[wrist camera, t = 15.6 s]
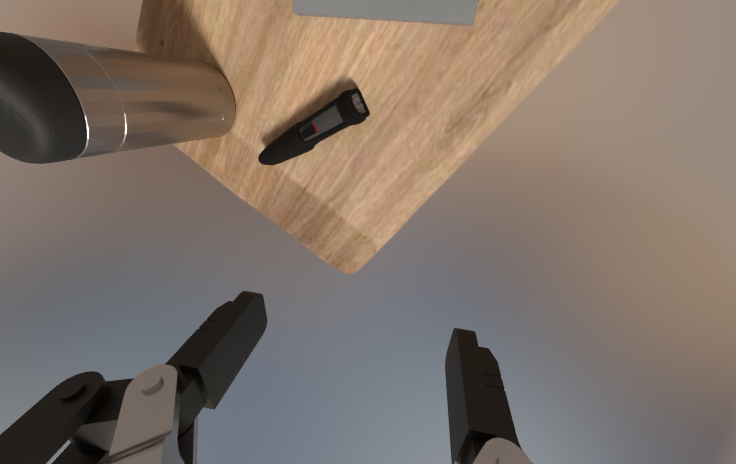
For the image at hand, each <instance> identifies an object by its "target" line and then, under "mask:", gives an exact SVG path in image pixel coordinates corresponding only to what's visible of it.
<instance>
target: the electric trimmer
mask: <svg viewBox="0 0 736 464" xmlns="http://www.w3.org/2000/svg"><path fill="white" fill-rule="evenodd" d="M369 114H370V112H369V110H368V108H367V105H366V103H365V101H364V99H363V97H362V94H361V92H360V90H359V89H357V88H356V89H353V90H348V91H345V92H343V93H342V94H341V95H339V96H338V97H337V98H336V99H334V100H333V101H331V102H330V103H329V104H327V105H326V106H324V107H323V108H322V109H320V110H319V111H317V112H316V113H314V114H313V115H312V116H310V117H309V118H307V119H305V120H304V121H302V122H298V123H297V124H295V125H294V126H293V127H291V128H290V129H289V130H287V131H286V132H285V133H283V134H282V135H281V136H280V137H278V138H277V139H276V140H274V141H273V142H272V143H271V144H269V145H268V146H267V147H266V148H265V149H264V150H263V151H262V152H261V153H260V155H259V157H258V159H259V162H260V163H262V164H264V165H276V164H279V163H281V162H284V161H286V160H289V159H291V158H294V157H296V156H298V155H301V154H303V153H306V152H308V151H310V150H312V149H313V148H314V146H315V145H316V144H317V143H319V142H320V141H322V140H324V139H326V138H327V137H329V136H331V135H333V134H335V133H337V132H338V131H340V130H342V129H344V128H346V127H348V126H351V125H356V124H360V123H361V122H363V121H364V120H365V119H366V117H368V116H369Z"/></svg>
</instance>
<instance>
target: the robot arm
mask: <svg viewBox="0 0 736 464" xmlns="http://www.w3.org/2000/svg"><path fill="white" fill-rule="evenodd" d="M235 113H236V112H235V101H234V96H233V94H232V91H231V88H230V86H229V84H228V83H227V81H226V79H225V78H224V77H223V75H222V74H221V73H220V72H219V71H218V70H217V69H216V68H214V67H213V66H211V65H210V64H207V63H204V62H200V61H193V60H186V59H180V58H174V57H168V56H161V55H154V54H148V53H141V52H134V51H127V50H120V49H114V48H108V47H101V46H94V45H88V44H80V43H74V42H68V41H60V40H53V39H46V38H39V37H33V36H26V35H19V34H13V33H5V32H0V151H1V152H2V153H4V154H6V155H8V156H10V157H12V158H14V159H17V160H19V161H23V162H27V163H37V164H38V163H39V164H43V163H52V162H59V161H65V160H72V159H78V158H84V157H91V156H97V155H104V154H109V153H115V152H122V151H128V150H135V149H142V148H148V147H155V146H161V145H167V144H174V143H180V142H187V141H193V140H200V139H207V138H213V137H220V136H222V135H225V134H226V133H227V132H228V131H229V130H230V129H231V127H232V125H233V123H234V120H235ZM266 325H267V316H266V310H265V304H264V298H263V295H262V294H260V293H254V292H248V291H243V292H241V293H240V294H239V295H238V297H237V298H236V299H235V300H234V301H233V302H232V301H228V302H226V303H225V304H223V305H222V306H220V307H218V308H217V309H216V310H215V311H214V312H213V313H212V314H211V315H210V317H208V319H207V321H205V322H204V323H203V324H202V325H201V326H200V328H199V329H197V330H196V331H195V333H194V334H193V335H192V336H191V337H190V338H189V339H188V340H187V341H186V342H185V343H184V344H183V346H182V347H181V348H180V349H179V350H178V351H177V352H176V353H175V354H174V355H173V356H172V357H171V358H170V360H169V361H168V362H167V363H166V364H164V365H158V366H154V367H152V368H150V369H147V370H145V371H144V372H142V373H141V374H139V375H138V376H137V377H136V378H133V379H124V380H116V381H107V382H106V381H105V379H104V378H103V376H102V375H101V374H100V373H98V372H93V371H91V372H84V373H81V374H77V375H75V376H73V377H71V378H69V379H67V380H65V381H63V382H62V383H60V384H59V385H57V386H56V387H55V388H54V389H52V390H51V391H50V392H49V393H48V394H47V395H46V396H44V397H43V398H42V399H41V400H40V401H39V402H38V403H36V404H35V405H34V406H33V407H32V408H31V409H29V411H27V412H26V413H25V414H24V415H23V416H21V417H20V418H19V419H18V420H17V421H16V422H15V423H13V424H12V425H11V426H10V427H9V428H8V429H7V430H5V431H4V432H3V433H2V434H1V435H0V464H46V463H47V462H48V461H49V460H50V459H51V458H52V456H53V455H54V454H55V453H56V452H57V451H58V450H59V449H60V448H61V447H62V446H63V445H64V444H65V443H66V442H67V440H70V442H71V443H70V444H69V445H68V447H67V448H66V449H65V450H64V451H63V452H62V453H61V454H60V455H59V456H58V457H57V458H56V460H55V461H54V462H53V463H52V464H197V438H198V417H197V415H198V414H199V413H200V411H201V410H202V408H203V407H206V408H210V409H215V408H216V406H217V405H218V403H219V402H220V400H221V399H222V397H223V396H224V394H225V393H226V391H227V389H228V388H229V386H230V385H231V383H232V382H233V380H234V379H235V377H236V375H237V374H238V372H239V371H240V369H241V368H242V366H243V364H244V363H245V361H246V360H247V358H248V357H249V355H250V354H251V352H252V351H253V349H254V347H255V346H256V344H257V343H258V341H259V340H260V338H261V337H262V335H263V333H264V331H265V329H266ZM445 373H446V387H447V401H448V416H449V429H450V443H451V458H452V464H532V463H531V461H530V460H529V458H528V457H527V455H526V454H525V453H524V452H523V450H522V449H521V447H520V444H519V442H518V439H517V436H516V432H515V428H514V424H513V420H512V416H511V412H510V408H509V405H508V401H507V397H506V393H505V391H504V386H503V381H502V379H501V374H500V370H499V366H498V362H497V360H496V359H495V358H494V356H493V354H492V353H491V351H490V350H489V349H488V348H483V347H478V343H477V337H476V333H475V332H474V331H470V330H464V329H458V328H454V330H453V333H452V336H451V339H450V343H449V347H448V350H447V354H446V361H445Z"/></svg>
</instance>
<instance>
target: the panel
mask: <svg viewBox="0 0 736 464" xmlns="http://www.w3.org/2000/svg"><path fill="white" fill-rule="evenodd" d="M477 3H478V0H293V13H295V14H297V15H304V16H321V17H337V18H354V19H370V20H387V21H403V22H420V23H436V24H453V25H470V26H473V21H474V17H475V12H476V8H477Z"/></svg>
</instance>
